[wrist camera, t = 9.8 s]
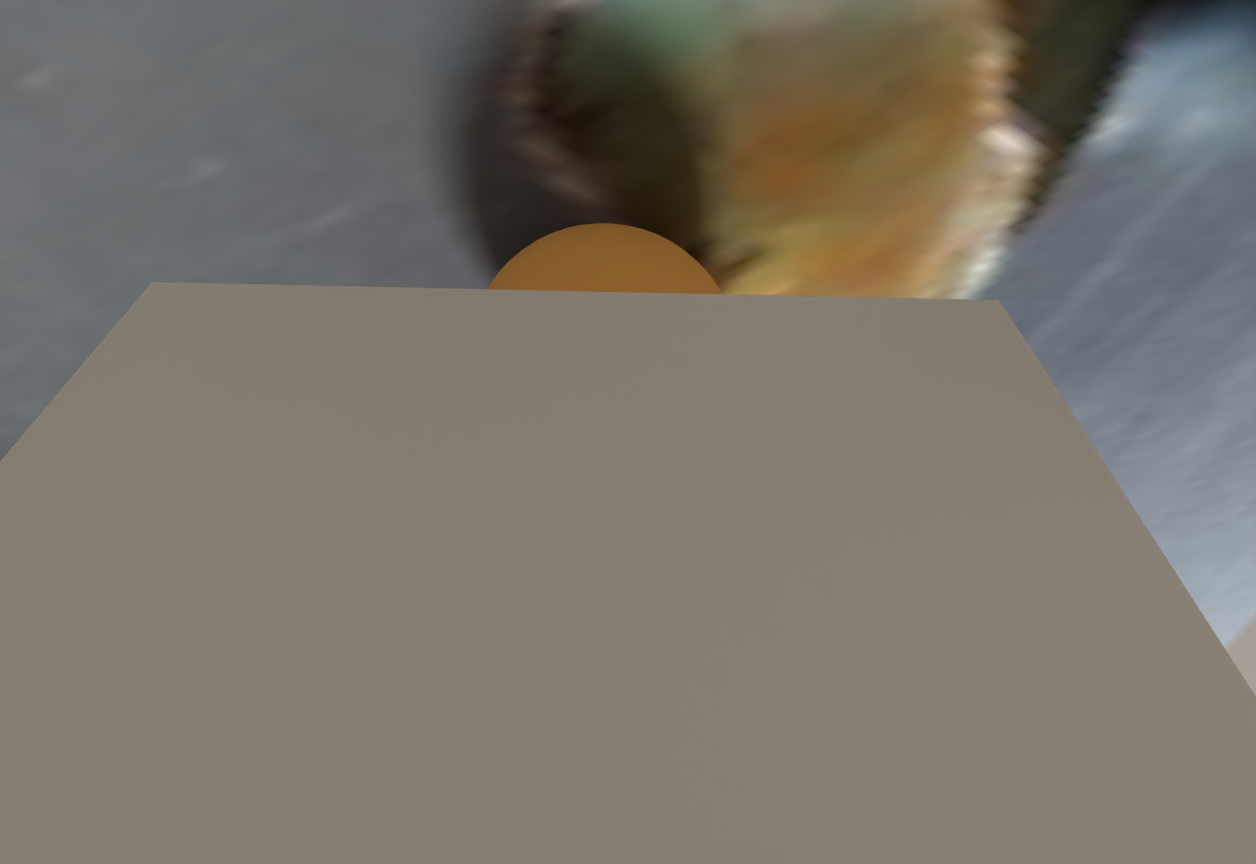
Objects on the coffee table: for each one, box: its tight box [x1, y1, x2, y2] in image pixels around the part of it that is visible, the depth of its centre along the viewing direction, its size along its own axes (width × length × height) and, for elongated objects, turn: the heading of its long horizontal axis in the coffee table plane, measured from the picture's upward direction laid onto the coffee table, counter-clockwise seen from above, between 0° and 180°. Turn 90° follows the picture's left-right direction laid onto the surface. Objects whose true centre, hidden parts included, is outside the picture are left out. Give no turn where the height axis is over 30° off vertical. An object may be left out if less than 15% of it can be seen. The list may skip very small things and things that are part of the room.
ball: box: [487, 223, 722, 294], centre depth 18 cm, size 5×5×5 cm
